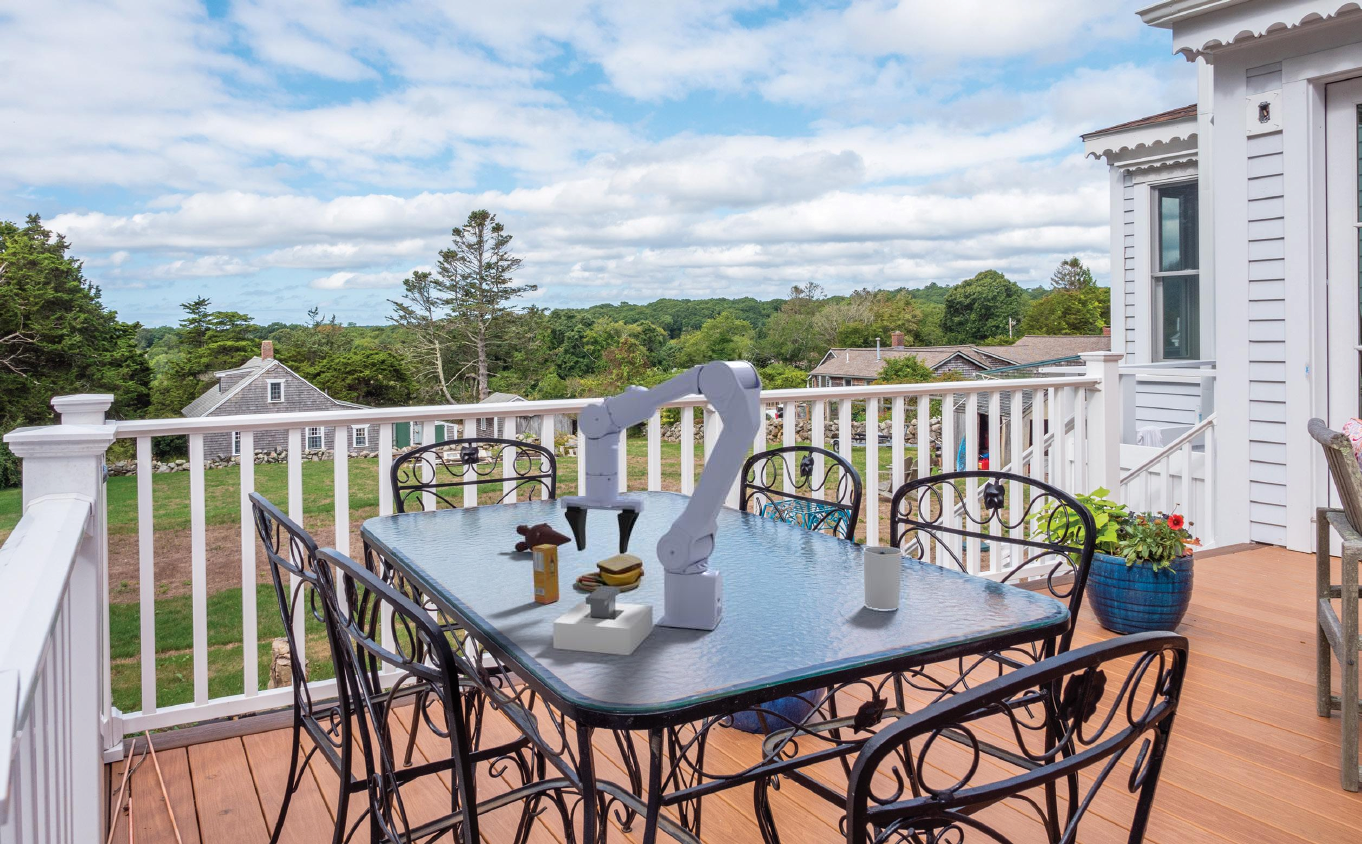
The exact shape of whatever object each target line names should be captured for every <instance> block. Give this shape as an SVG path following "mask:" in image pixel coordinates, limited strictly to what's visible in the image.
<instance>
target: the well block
mask: <svg viewBox="0 0 1362 844" xmlns="http://www.w3.org/2000/svg"><path fill="white" fill-rule="evenodd" d="M653 613H654V611H653V605H643V604H632V603H621V602H619V603H618V602H615V620H609V619H598V618H591V617H590V604H586V600H580V602H578V603H577V604H575V605H574V606H572V607H571V608H570V609H569V610H568V611H566V612H565V613H564V614H562V615H561V616H559V617H558V618H557V619H556V620H554V621H553V623H552V624H553V625H552V626H553V628H552V629H553V632H552V633H553V641H552V642H553V649H555V650H556V649H557V650H567V651H568V650H569V651H577V652H578V651H579V652H588V653H589V652H590V653H600V654H610V655H611V654H612V655H621V656H631V655H632V653H633V652H635V650H636V649H637V648H638V647H639V646H640V645H641V644H642V643H643V641H645V639H646V638H647V637H649V635H650V634H651V633H652V632H653V625H654V624H653V619H654V618H653Z"/></svg>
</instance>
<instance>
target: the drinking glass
mask: <svg viewBox="0 0 1362 844" xmlns="http://www.w3.org/2000/svg"><path fill="white" fill-rule="evenodd" d="M902 561H903V550H902V549H900V548H897V547H892V546H885V545H884V546H880V545H878V546H874V545H873V546H868V547H864V548H863V570H864V572H863V575H864V577H863V581H864V605H865V604H866V605H867V606H868V607H872V608H878V609H893V608H897V607H898V606H899V604H900V603H899V602H900V589H901V577H902V576H901V575H902V564H903V563H902ZM898 608H899V607H898Z"/></svg>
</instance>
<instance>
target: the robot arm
mask: <svg viewBox="0 0 1362 844" xmlns="http://www.w3.org/2000/svg"><path fill="white" fill-rule="evenodd" d="M762 388H763V382H762V379H761V378H760V375H759V372H758V370H757V369H756V368H755V366H754V365H753V364H752V363H751V362H749V361H747V360H744V359H737V360H732V361H731V360H730V361H723V360H713V361H709V362H708V363H706V364H702V365H697V366H694V367H692V368H689V369H688V370H686V371H684V372H682V373H680V374H678V375H676V376H673V377H672V378H669V379H668V380H666V381H663V382H662V383H659V384H656V386H654V387H651V388H647V387H644V386H643V385H642V386H641V385H638V386H636V385H635V384H632V385H629V386H626V387H625V391H624V392H622V393H620V394H617V395H615V396H613V397H612V396H610V395H609V396H605V397H604V398H603V402H602V403H599V404H598V403H588V404H587V405H586V406H585V407H583V408H582V410H581V411H580V413H579V414H578V418H577V422H578V428H579V430H580V432H581V433H582V435H584V460H585V461H584V465H585V466H584V469H585V470H584V477H585V479H584V480H585V481H584V482H585V484H584V486H585V487H584V488H585V490H584V491H585V492H584V493H585V495H563V496H561V497H560V509H563V510H564V509H566V511H564V517H565V519H566V521H567V523H568V524H569V527H570V529H571V532H572V534H573V537H574V540H575V545H576V548H577V549H576V550H577V551H578V552H582V551H584V550H585V549H586V548H587V547H586V545H587V537H586V527H587V526H586V525H587V515H588V511H589V510H600V511H601V510H602V511H617V512H618V511H619V512H620V513H617V514H616V515H617V516H616V517H617V521H618V523H617V524H618V531H619V542H618V544H619V545H618V546H619V547H618V551H619V554H626V553H627V552H628V548H629V547H628V546H629V542H630V538H631V534H632V531H633V529H634V526H635V525H636V521H637V519H638V518H639V516H640V513H643V512H644V511H645V500H644V499H640V498H638V499H637V498H628V497H623V496H622V497H621V496H619V494H620V492H619V491H620V489H619V486H620V485H619V484H620V483H619V480H620V477H619V473H620V471H619V469H620V468H619V464H620V463H619V461H620V460H619V453H620V452H619V450H620V449H619V443H621V442H620V436H621V433H622V432H623V431H624V430H626V429H628V428H630V427H632V426H636V425H638V424H640V423H643V422H645V421H648V420H649V419H652V418H653V417H654V415H655V414H656V411H657V409H658V407H661V406H663V405H667V404H669V403H672V402H674V401H676V400H679V399H682V398H684V397H687V396H690V395H692V394H694V395H697V396H700V395H701V396H703V397H704V398H705V399H706V400H707V401H708V403H709V404H710V406H712V407H713V409H714V410H715V411H716V412H717V414H718V415H719V417H720V420H721V422H722V426H723V427H722V429H721V431H720V433H719V435H718V438H717V439H716V442H715V444H714V447H713V449H712V450H711V453H710V455H709V458H707V459H708V460H707V461H706V463H705V465H704V468H703V470H702V472H701V474H700V476H699V479H698V481H697V482H696V486H695V487H694V490H693V492H692V494H691V496H690V499H689V501H688V502H687V505H686V507H685V509H684V511H682V513H681V514H680V515H679V516H678V517H677V518H676V519H675V520H674V521H673V522H672V524H671V527H670V529H669V530H668V531H667V532H666V533H665V534H663V535H662V536H661V537H660V538H659V540H658V541H657V544H656V556H657V559H658V562H659V563H660V564H661V566H663V572H664V575H663V577H664V579H663V580H664V583H663V584H664V585H663V586H664V587H663V589H664V590H663V591H664V592H663V593H664V594H663V596H664V600H663V601H664V602H663V603H664V607H663V608H664V609H663V611H664V614H663V615H662V616H661V617H660V618H659V619H658V621H656V626H661V627H671V628H672V627H673V628H681V629H683V628H685V629H692V630H693V629H697V630H707V631H708V630H709V631H714V630H715V628H716V627H717V626H718V624H719V623H720V621H721V620H722V618H723V617H724V614H723V574H722V572H721V571H720V570H714V569H711V568H709V558H710V557H711V556H712V555H713V553H714V551H715V548H716V536H717V532H718V530H719V525H718V523H717V519H718V517H719V514H720V512H721V510H722V508H723V506H724V504H725V502H726V501H727V497H728V495H729V494H730V491H731V489H732V487H733V485H734V483H735V481H736V478H737V477H738V475H739V474H740V473H739V472H740V470H741V468H742V467H743V464H744V462H745V460H746V458H747V455H748V453H749V451H750V449H751V447H752V445H753V443H754V441H755V439H756V437H757V434H758V432H759V430H760V428H761V422H762V421H761V391H762V390H763V389H762Z"/></svg>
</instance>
